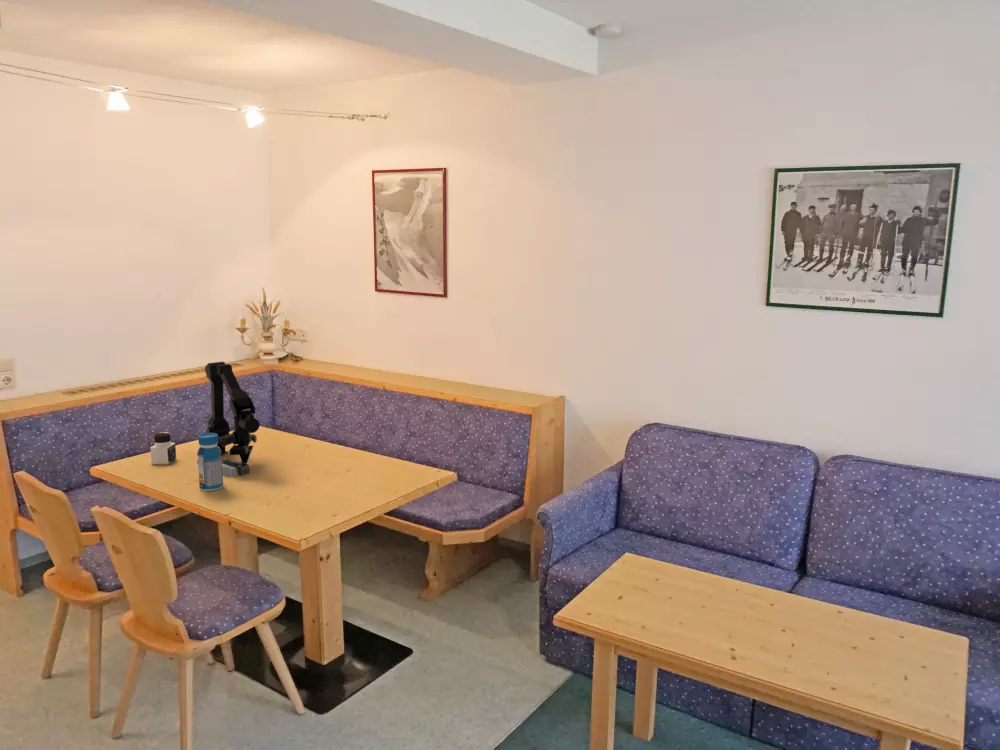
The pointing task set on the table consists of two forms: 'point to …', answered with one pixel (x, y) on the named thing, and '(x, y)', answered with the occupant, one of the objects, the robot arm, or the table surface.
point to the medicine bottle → (163, 449)
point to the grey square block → (243, 469)
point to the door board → (228, 471)
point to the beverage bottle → (209, 462)
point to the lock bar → (232, 462)
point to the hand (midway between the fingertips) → (244, 465)
